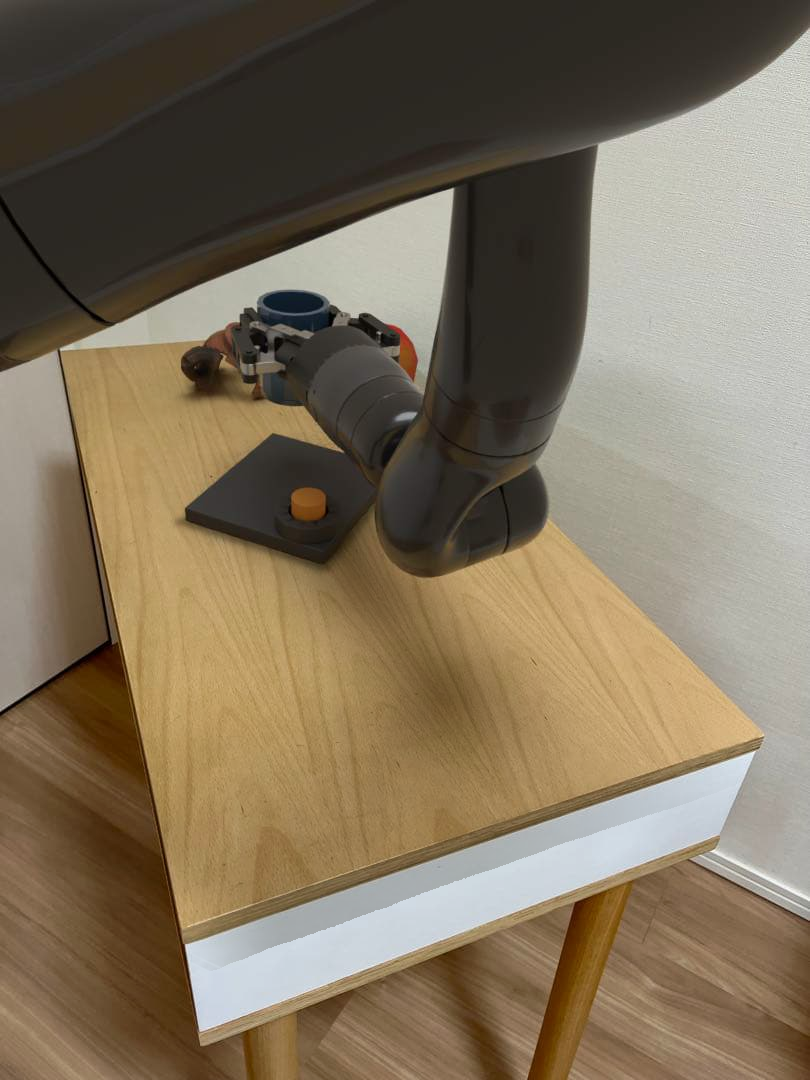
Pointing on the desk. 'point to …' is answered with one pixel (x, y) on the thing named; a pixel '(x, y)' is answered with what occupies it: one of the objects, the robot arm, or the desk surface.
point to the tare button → (308, 504)
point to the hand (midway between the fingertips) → (284, 314)
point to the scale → (286, 498)
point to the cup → (296, 313)
